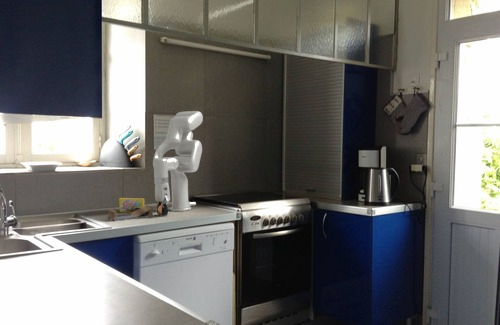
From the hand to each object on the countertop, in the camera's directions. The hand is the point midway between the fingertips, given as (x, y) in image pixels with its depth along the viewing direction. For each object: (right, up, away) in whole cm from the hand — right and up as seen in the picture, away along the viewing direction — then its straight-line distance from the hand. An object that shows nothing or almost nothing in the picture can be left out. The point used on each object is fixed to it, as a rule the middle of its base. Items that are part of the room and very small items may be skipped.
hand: (162, 213), depth 256 cm
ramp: (-16, -2, -4) cm, 17 cm away
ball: (0, +2, 0) cm, 2 cm away
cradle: (0, -1, 0) cm, 1 cm away
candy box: (-20, -1, +15) cm, 25 cm away
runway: (-16, -2, -4) cm, 17 cm away
